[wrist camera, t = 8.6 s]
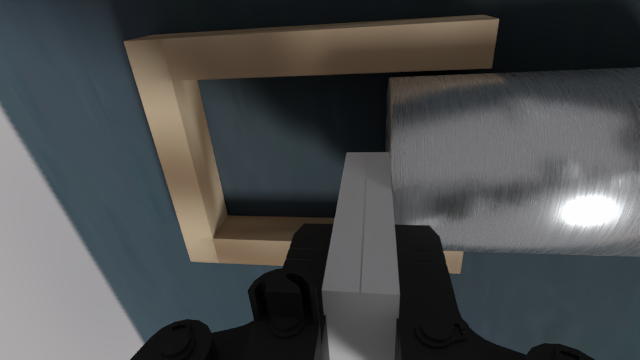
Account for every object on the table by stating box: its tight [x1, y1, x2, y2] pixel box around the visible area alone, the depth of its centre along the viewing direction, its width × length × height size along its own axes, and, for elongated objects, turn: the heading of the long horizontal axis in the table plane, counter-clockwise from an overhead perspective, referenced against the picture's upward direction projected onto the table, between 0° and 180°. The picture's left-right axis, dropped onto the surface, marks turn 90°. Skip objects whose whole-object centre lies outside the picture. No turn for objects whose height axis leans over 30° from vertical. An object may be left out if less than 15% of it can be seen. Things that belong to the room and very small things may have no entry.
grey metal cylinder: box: [385, 67, 640, 257], centre depth 12 cm, size 10×6×6 cm, turn 94°
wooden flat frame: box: [124, 14, 499, 274], centre depth 15 cm, size 10×13×2 cm
